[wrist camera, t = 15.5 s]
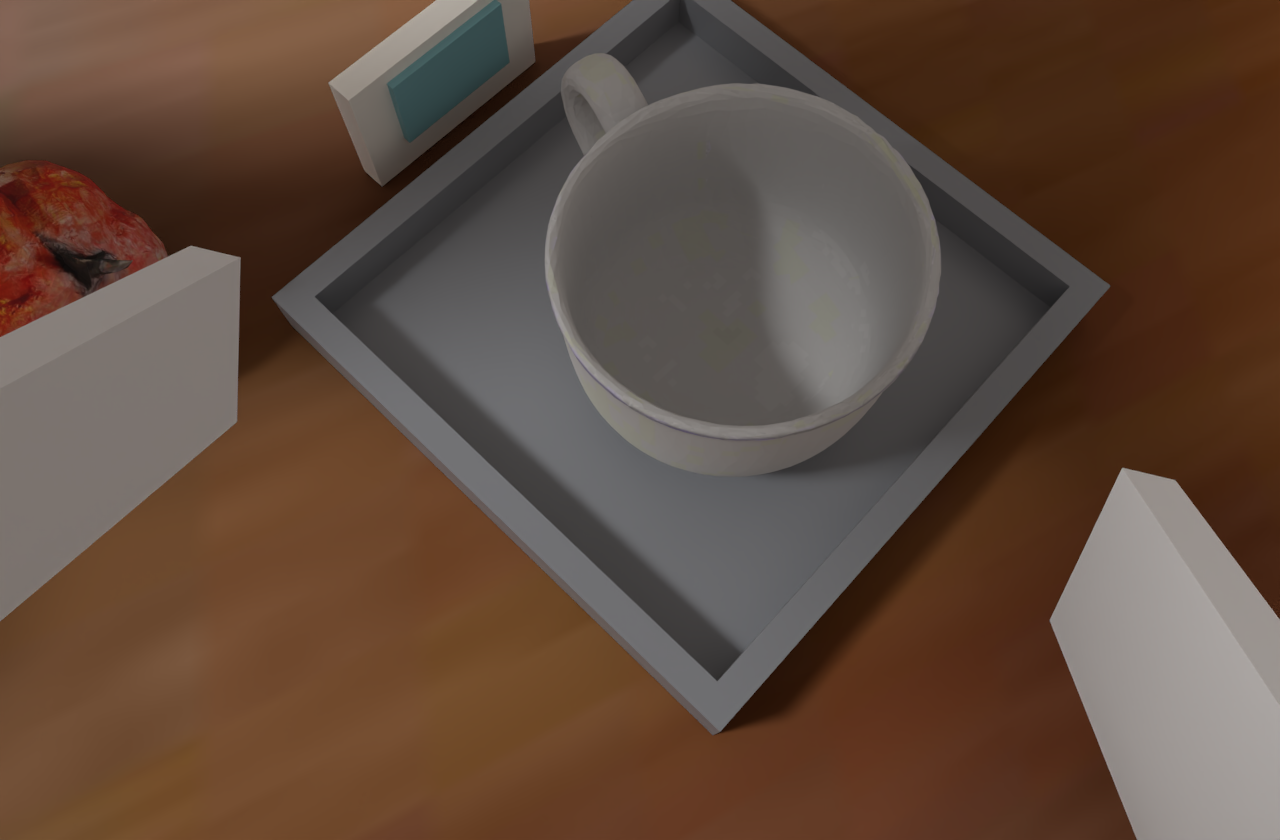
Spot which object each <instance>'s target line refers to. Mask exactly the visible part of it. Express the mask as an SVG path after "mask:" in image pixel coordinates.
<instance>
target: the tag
mask: <svg viewBox="0 0 1280 840" xmlns="http://www.w3.org/2000/svg"><path fill="white" fill-rule="evenodd" d="M535 62H536V61H535V51H534V42H533V33H532V24H531V15H530V5H529V0H436V1H435V2H433V3H432V4H431V5H429V6H428V7H427V8H426V9H424V10H423V11H422V12H420V13H419V14H418V15H416V16H415V17H414V18H412V19H411V20H410V21H409V22H407V23H406V24H405V25H403V26H402V27H401V28H399V29H398V30H397V31H395V32H394V33H393V34H392V35H390V36H389V37H388V38H386V39H385V40H384V41H382V42H381V43H380V44H378V45H377V46H376V47H374V48H373V49H372V50H371V51H369V52H368V53H367V54H365V55H364V56H363V57H361V58H360V59H359V60H357V61H356V62H355V63H354V64H352V65H351V66H350V67H348V68H347V69H346V70H344V71H343V72H342V73H340V74H339V75H338V76H337V77H335V78H334V79H333V80H331V81H330V82H329V86H330V88H331V91H332V93H333V96H334V98H335V100H336V103H337V105H338V108H339V110H340V113H341V115H342V118H343V120H344V122H345V125H346V127H347V130H348V132H349V135H350V137H351V140H352V142H353V144H354V147H355V149H356V152H357V154H358V157H359V159H360V161H361V164H362V166H363V169H364V171H365V172H366V173H367V174H368V175H370V176H371V177H372V178H373V179H374V180H375V181H376V182H377V183H378V184H380V185H381V186H382V187H383V186H384V185H385V184H386V183H388V182H389V181H390V180H391V179H392V178H394V177H395V176H396V175H397V174H399V173H400V172H401V171H402V170H403V169H405V168H406V167H407V166H408V165H410V164H411V163H412V162H413V161H415V160H416V159H417V158H418V157H419V156H421V155H422V154H423V153H424V152H426V151H427V150H428V149H429V148H430V147H432V146H433V145H434V144H435V143H437V142H438V141H439V140H440V139H442V138H443V137H444V136H445V135H446V134H448V133H449V132H450V131H451V130H453V129H454V128H455V127H456V126H457V125H459V124H460V123H461V122H462V121H464V120H465V119H466V118H467V117H469V116H470V115H471V114H472V113H473V112H475V111H476V110H477V109H478V108H480V107H481V106H482V105H483V104H484V103H486V102H487V101H488V100H489V99H491V98H492V97H493V96H494V95H496V94H497V93H498V92H499V91H500V90H502V89H503V88H504V87H505V86H507V85H508V84H509V83H510V82H512V81H513V80H514V79H515V78H516V77H518V76H519V75H520V74H521V73H523V72H524V71H525V70H526V69H527V68H529V67H530V66H531V65H532V64H534V63H535Z"/></svg>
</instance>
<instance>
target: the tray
mask: <svg viewBox="0 0 1280 840" xmlns="http://www.w3.org/2000/svg"><path fill="white" fill-rule="evenodd" d="M595 53H604V54H608V55H611V56H613V57H614V58H616V59H617V60H618V61H619V62H620V63H621V64H622V65H623V66H624V67H625V68H626V69H627V71H628V72H629V73H630V75H631V76H632V77H633V79H634V80H635V82H636V84H637V85H638V87H639V89H640V91H641V93H642V94H643V96H644V98H645V100H646V102H647V104H648V105H650V104H652V103H654V102H657V101H659V100H662V99H665V98H668V97H671V96H674V95H677V94H679V93H683V92H687V91H691V90H695V89H699V88H703V87H709V86H714V85H722V84H732V83H743V84H755V83H759V84H766V85H773V86H779V87H786V88H790V89H793V90H797V91H800V92H804V93H807V94H811V95H814V96H817V97H821V98H823V99H825V100H827V101H830V102H832V103H834V104H836V105H838V106H839V107H841V108H843V109H845V110H846V111H848V112H849V113H851V114H853V115H856V116H858V117H859V118H860V119H861V120H862V121H863V122H864V123H865V124H866V125H868V126H870V127H871V128H872V129H873V130H874V131H875V132H876V133H878V134H880V135H881V136H883V137H885V139H886V140H887V141H888V142H889V144H890V145H891V146H892V148H894V149H896V150H897V151H898V152H899V153H900V154H901V156H902V157H903V158H904V160H905V161H906V162H907V164H908V165H909V167H910V168H911V170H912V171H913V173H914V175H915V177H916V178H917V180H918V181H919V182H920V184H921V186H922V188H923V190H924V192H925V194H926V196H927V198H928V200H929V204H930V207H931V210H932V213H933V216H934V218H935V221H936V226H937V231H938V235H939V241H940V249H941V276H940V281H939V294H938V297H937V301H936V308H935V311H934V313H933V316H932V319H931V322H930V325H929V328H928V331H927V333H926V335H925V337H924V339H923V341H922V345H921V346H920V348H919V349H918V351H917V352H916V354H915V355H914V357H913V358H912V360H911V361H910V363H909V364H908V366H907V367H906V368H905V370H904V371H903V372H902V373H901V374H900V375H899V376H898V378H897V379H896V380H895V381H894V382H893V383H892V384H891V385H890V386H889V387H888V388H887V389H886V390H884V391H883V392H882V394H881V395H880V397H879V398H878V399H877V401H876V402H875V403H874V404H873V405H872V407H871V408H870V409H869V410H868V411H867V412H866V414H865V415H864V416H863V417H862V418H861V419H860V420H859V421H858V422H857V423H856V424H855V425H854V426H853V427H852V428H851V429H850V430H849V431H848V432H847V433H846V434H845V435H844V436H842V437H841V438H840V439H839V440H837V441H836V442H835V443H833V444H832V445H831V446H829V447H828V448H826V449H825V450H823V451H822V452H820V453H818V454H816V455H815V456H813V457H811V458H809V459H807V460H805V461H803V462H801V463H798V464H796V465H793V466H791V467H788V468H785V469H781V470H778V471H775V472H771V473H766V474H761V475H753V476H744V477H722V476H710V475H702V474H698V473H694V472H690V471H686V470H683V469H679V468H676V467H673V466H670V465H668V464H666V463H663V462H661V461H659V460H657V459H655V458H653V457H651V456H649V455H647V454H646V453H644V452H642V451H641V450H639V449H638V448H636V447H635V446H633V445H632V444H631V443H629V442H628V441H627V440H625V439H624V438H623V437H622V436H621V435H620V434H619V433H618V432H617V431H616V430H615V429H613V428H612V427H611V426H610V424H609V423H608V422H607V421H606V420H605V419H604V418H603V417H602V415H601V414H600V413H599V412H598V410H597V409H596V408H595V406H594V405H593V403H592V402H591V400H590V399H589V397H588V395H587V394H586V392H585V390H584V388H583V386H582V384H581V382H580V380H579V378H578V376H577V373H576V371H575V369H574V366H573V364H572V361H571V358H570V356H569V353H568V349H567V346H566V343H565V340H564V337H563V334H562V332H561V330H560V328H559V326H558V324H557V321H556V318H555V316H554V313H553V310H552V306H551V301H550V297H549V294H548V291H547V286H546V279H545V242H546V235H547V229H548V224H549V220H550V217H551V214H552V211H553V208H554V206H555V203H556V200H557V197H558V195H559V193H560V191H561V190H562V188H563V186H564V184H565V182H566V180H567V178H568V176H569V174H570V172H571V171H572V170H573V169H574V167H575V166H576V165H577V163H578V162H579V161H580V160H581V159H582V158H583V156H584V155H583V152H582V150H581V148H580V146H579V144H578V142H577V140H576V138H575V136H574V134H573V132H572V129H571V127H570V124H569V122H568V119H567V116H566V113H565V109H564V105H563V100H562V96H561V82H562V78H563V76H564V74H565V73H566V71H567V70H568V69H569V68H570V67H571V66H572V65H573V64H574V63H575V62H577V61H579V60H581V59H582V58H584V57H586V56H589V55H592V54H595ZM1109 287H1110V285H1109V284H1108V283H1106V282H1105V281H1104V280H1102V279H1101V278H1100V277H1098V276H1097V275H1096V274H1094V273H1093V272H1092V271H1090V270H1089V269H1088V268H1086V267H1085V266H1084V265H1082V264H1081V263H1080V262H1078V261H1077V260H1076V259H1074V258H1073V257H1072V256H1070V255H1069V254H1068V253H1066V252H1065V251H1064V250H1062V249H1061V248H1060V247H1058V246H1057V245H1056V244H1054V243H1053V242H1052V241H1050V240H1049V239H1048V238H1046V237H1045V236H1044V235H1042V234H1041V233H1040V232H1038V231H1037V230H1036V229H1034V228H1033V227H1032V226H1030V225H1029V224H1028V223H1026V222H1025V221H1024V220H1022V219H1021V218H1020V217H1018V216H1017V215H1016V214H1014V213H1013V212H1012V211H1010V210H1009V209H1008V208H1006V207H1005V206H1004V205H1002V204H1001V203H1000V202H998V201H997V200H996V199H994V198H993V197H992V196H990V195H989V194H988V193H986V192H985V191H984V190H982V189H981V188H980V187H978V186H977V185H976V184H974V183H973V182H972V181H970V180H969V179H968V178H966V177H965V176H964V175H962V174H961V173H960V172H958V171H957V170H956V169H954V168H953V167H952V166H950V165H949V164H948V163H946V162H945V161H944V160H942V159H941V158H940V157H938V156H937V155H936V154H934V153H933V152H932V151H930V150H929V149H928V148H926V147H925V146H924V145H923V144H921V143H920V142H919V141H917V140H916V139H915V138H913V137H912V136H911V135H909V134H908V133H907V132H905V131H904V130H903V129H901V128H900V127H899V126H897V125H896V124H895V123H893V122H892V121H891V120H889V119H888V118H887V117H885V116H884V115H883V114H881V113H880V112H879V111H877V110H876V109H875V108H873V107H872V106H871V105H869V104H868V103H867V102H865V101H864V100H863V99H861V98H860V97H859V96H857V95H856V94H855V93H853V92H852V91H851V90H849V89H848V88H847V87H845V86H844V85H843V84H841V83H840V82H839V81H837V80H836V79H835V78H833V77H832V76H831V75H829V74H828V73H827V72H825V71H824V70H823V69H821V68H820V67H819V66H817V65H816V64H815V63H813V62H812V61H811V60H809V59H808V58H807V57H805V56H804V55H803V54H801V53H800V52H799V51H797V50H796V49H795V48H793V47H792V46H791V45H789V44H788V43H787V42H785V41H784V40H783V39H781V38H780V37H779V36H777V35H776V34H775V33H773V32H772V31H771V30H769V29H768V28H767V27H765V26H764V25H763V24H761V23H760V22H759V21H757V20H756V19H755V18H753V17H752V16H751V15H749V14H748V13H747V12H745V11H744V10H743V9H741V8H740V7H739V6H737V5H736V4H735V3H733V2H732V1H731V0H633V1H631V2H630V3H629V4H628V5H627V6H625V7H624V8H623V9H622V10H620V11H619V12H618V13H617V14H616V15H614V16H613V17H612V18H611V19H609V20H608V21H607V22H606V23H605V24H603V25H602V26H601V27H600V28H599V29H597V30H596V31H595V32H594V33H592V34H591V35H590V36H589V37H588V38H586V39H585V40H584V41H583V42H581V43H580V44H579V45H578V46H577V47H575V48H574V49H573V50H572V51H571V52H569V53H568V54H567V55H566V56H564V57H563V58H562V59H561V60H560V61H558V62H557V63H556V64H555V65H553V66H552V67H551V68H550V69H549V70H547V71H546V72H545V73H544V74H543V75H541V76H540V77H539V78H538V79H536V80H535V81H534V82H533V83H532V84H530V85H529V86H528V87H527V88H525V89H524V90H523V91H522V92H521V93H519V94H518V95H517V96H516V97H515V98H513V99H512V100H511V101H510V102H508V103H507V104H506V105H505V106H504V107H502V108H501V109H500V110H499V111H497V112H496V113H495V114H494V115H493V116H491V117H490V118H489V119H488V120H487V121H485V122H484V123H483V124H482V125H480V126H479V127H478V128H477V129H476V130H474V131H473V132H472V133H471V134H469V135H468V136H467V137H466V138H465V139H463V140H462V141H461V142H460V143H459V144H457V145H456V146H455V147H454V148H452V149H451V150H450V151H449V152H448V153H446V154H445V155H444V156H443V157H441V158H440V159H439V160H438V161H437V162H435V163H434V164H433V165H432V166H431V167H429V168H428V169H427V170H426V171H424V172H423V173H422V174H421V175H420V176H418V177H417V178H416V179H415V180H413V181H412V182H411V183H410V184H409V185H407V186H406V187H405V188H404V189H403V190H401V191H400V192H399V193H398V194H396V195H395V196H394V197H393V198H392V199H390V200H389V201H388V202H387V203H385V204H384V205H383V206H382V207H381V208H379V209H378V210H377V211H376V212H375V213H373V214H372V215H371V216H370V217H368V218H367V219H366V220H365V221H364V222H362V223H361V224H360V225H359V226H357V227H356V228H355V229H354V230H353V231H351V232H350V233H349V234H348V235H347V236H345V237H344V238H343V239H342V240H340V241H339V242H338V243H337V244H336V245H334V246H333V247H332V248H331V249H329V250H328V251H327V252H326V253H325V254H323V255H322V256H321V257H320V258H319V259H317V260H316V261H315V262H314V263H312V264H311V265H310V266H309V267H308V268H306V269H305V270H304V271H303V272H301V273H300V274H299V275H298V276H297V277H295V278H294V279H293V280H292V281H291V282H289V283H288V284H287V285H286V286H284V287H283V288H282V289H281V290H280V291H278V292H277V293H276V294H275V295H273V296H272V299H273V300H274V302H275V303H276V305H277V306H278V307H279V309H280V310H281V312H282V313H283V314H284V316H285V317H286V319H287V320H288V321H289V323H290V324H291V326H292V327H293V328H294V329H295V330H296V331H297V332H298V333H300V334H301V335H302V336H303V337H304V338H305V339H306V340H307V341H308V342H309V343H310V344H311V345H312V346H313V347H314V348H315V349H316V350H317V351H318V352H319V353H320V354H321V355H322V356H323V357H324V358H325V359H326V360H327V361H328V362H329V363H330V364H331V365H332V366H333V367H335V368H336V369H337V370H338V371H339V372H340V373H341V374H342V375H343V376H344V377H345V378H346V379H347V380H348V381H349V382H350V383H351V384H352V385H353V386H354V387H355V388H356V389H357V390H358V391H359V392H360V393H361V394H362V395H363V396H364V397H365V398H366V399H367V400H368V401H370V402H371V403H372V404H373V405H374V406H375V407H376V408H377V409H378V410H379V411H380V412H381V413H382V414H383V415H384V416H385V417H386V418H387V419H388V420H389V421H390V422H391V423H392V424H393V425H394V426H395V427H396V428H397V429H398V430H399V431H400V432H401V433H402V434H403V435H404V436H406V437H407V438H408V439H409V440H410V441H411V442H412V443H413V444H414V445H415V446H416V447H417V448H418V449H419V450H420V451H421V452H422V453H423V454H424V455H425V456H426V457H427V458H428V459H429V460H430V461H431V462H432V463H433V464H434V465H435V466H436V467H437V468H438V469H439V470H441V471H442V472H443V473H444V474H445V475H446V476H447V477H448V478H449V479H450V480H451V481H452V482H453V483H454V484H455V485H456V486H457V487H458V488H459V489H460V490H461V491H462V492H463V493H464V494H465V495H466V496H467V497H468V498H469V499H470V500H471V501H472V502H473V503H474V504H476V505H477V506H478V507H479V508H480V509H481V510H482V511H483V512H484V513H485V514H486V515H487V516H488V517H489V518H490V519H491V520H492V521H493V522H494V523H495V524H496V525H497V526H498V527H499V528H500V529H501V530H502V531H503V532H504V533H505V534H506V535H507V536H508V537H509V538H511V539H512V540H513V541H514V542H515V543H516V544H517V545H518V546H519V547H520V548H521V549H522V550H523V551H524V552H525V553H526V554H527V555H528V556H529V557H530V558H531V559H532V560H533V561H534V562H535V563H536V564H537V565H538V566H539V567H540V568H541V569H542V570H543V571H544V572H546V573H547V574H548V575H549V576H550V577H551V578H552V579H553V580H554V581H555V582H556V583H557V584H558V585H559V586H560V587H561V588H562V589H563V590H564V591H565V592H566V593H567V594H568V595H569V596H570V597H571V598H572V599H573V600H574V601H575V602H576V603H577V604H578V605H579V606H580V607H582V608H583V609H584V610H585V611H586V612H587V613H588V614H589V615H590V616H591V617H592V618H593V619H594V620H595V621H596V622H597V623H598V624H599V625H600V626H601V627H602V628H603V629H604V630H605V631H606V632H607V633H608V634H609V635H610V636H611V637H612V638H613V639H614V640H615V641H617V642H618V643H619V644H620V645H621V646H622V647H623V648H624V649H625V650H626V651H627V652H628V653H629V654H630V655H631V656H632V657H633V658H634V659H635V660H636V661H637V662H638V663H639V664H640V665H641V666H642V667H643V668H644V669H645V670H646V671H647V672H648V673H649V674H650V675H652V676H653V677H654V678H655V679H656V680H657V681H658V682H659V683H660V684H661V685H662V686H663V687H664V688H665V689H666V690H667V691H668V692H669V693H670V694H671V695H672V696H673V697H674V698H675V699H676V700H677V701H678V702H679V703H680V704H681V705H682V706H683V707H684V708H685V709H687V710H688V711H689V712H690V713H691V714H692V715H693V716H694V717H695V718H696V719H697V720H698V721H699V722H700V723H701V724H702V725H703V726H704V727H705V728H706V729H707V730H708V731H709V732H710V733H711V734H712V735H714V734H717V733H719V732H720V731H721V730H722V729H723V728H724V727H725V726H726V725H727V723H728V722H729V721H730V720H731V719H732V718H733V717H734V715H735V714H736V713H737V712H738V711H739V710H740V709H741V707H742V706H743V705H744V704H745V703H746V702H747V701H748V699H749V698H750V697H751V696H752V695H753V694H754V693H755V691H756V690H757V689H758V688H759V687H760V686H761V685H762V684H763V682H764V681H765V680H766V679H767V678H768V677H769V676H770V674H771V673H772V672H773V671H774V670H775V669H776V668H777V666H778V665H779V664H780V663H781V662H782V661H783V660H784V658H785V657H786V656H787V655H788V654H789V653H790V652H791V650H792V649H793V648H794V647H795V646H796V645H797V644H798V642H799V641H800V640H801V639H802V638H803V637H804V636H805V634H806V633H807V632H808V631H809V630H810V629H811V628H812V626H813V625H814V624H815V623H816V622H817V621H818V620H819V618H820V617H821V616H822V615H823V614H824V613H825V612H826V610H827V609H828V608H829V607H830V606H831V605H832V604H833V602H834V601H835V600H836V599H837V598H838V597H839V596H840V594H841V593H842V592H843V591H844V590H845V589H846V588H847V586H848V585H849V584H850V583H851V582H852V581H853V580H854V578H855V577H856V576H857V575H858V574H859V573H860V572H861V570H862V569H863V568H864V567H865V566H866V565H867V564H868V563H869V561H870V560H871V559H872V558H873V557H874V556H875V555H876V553H877V552H878V551H879V550H880V549H881V548H882V547H883V545H884V544H885V543H886V542H887V541H888V540H889V539H890V537H891V536H892V535H893V534H894V533H895V532H896V531H897V529H898V528H899V527H900V526H901V525H902V524H903V523H904V521H905V520H906V519H907V518H908V517H909V516H910V515H911V513H912V512H913V511H914V510H915V509H916V508H917V507H918V505H919V504H920V503H921V502H922V501H923V500H924V499H925V497H926V496H927V495H928V494H929V493H930V492H931V491H932V489H933V488H934V487H935V486H936V485H937V484H938V483H939V481H940V480H941V479H942V478H943V477H944V476H945V475H946V473H947V472H948V471H949V470H950V469H951V468H952V467H953V465H954V464H955V463H956V462H957V461H958V460H959V459H960V457H961V456H962V455H963V454H964V453H965V452H966V451H967V449H968V448H969V447H970V446H971V445H972V444H973V443H974V442H975V440H976V439H977V438H978V437H979V436H980V435H981V434H982V432H983V431H984V430H985V429H986V428H987V427H988V426H989V424H990V423H991V422H992V421H993V420H994V419H995V418H996V416H997V415H998V414H999V413H1000V412H1001V411H1002V410H1003V408H1004V407H1005V406H1006V405H1007V404H1008V403H1009V402H1010V400H1011V399H1012V398H1013V397H1014V396H1015V395H1016V394H1017V392H1018V391H1019V390H1020V389H1021V388H1022V387H1023V386H1024V384H1025V383H1026V382H1027V381H1028V380H1029V379H1030V378H1031V376H1032V375H1033V374H1034V373H1035V372H1036V371H1037V370H1038V368H1039V367H1040V366H1041V365H1042V364H1043V363H1044V362H1045V360H1046V359H1047V358H1048V357H1049V356H1050V355H1051V354H1052V352H1053V351H1054V350H1055V349H1056V348H1057V347H1058V346H1059V344H1060V343H1061V342H1062V341H1063V340H1064V339H1065V338H1066V336H1067V335H1068V334H1069V333H1070V332H1071V331H1072V330H1073V328H1074V327H1075V326H1076V325H1077V324H1078V323H1079V322H1080V321H1081V319H1082V318H1083V317H1084V316H1085V315H1086V314H1087V313H1088V311H1089V310H1090V309H1091V308H1092V307H1093V306H1094V305H1095V303H1096V302H1097V301H1098V300H1099V299H1100V298H1101V297H1102V295H1103V294H1104V293H1105V292H1106V291H1107V290H1108V289H1109Z"/></svg>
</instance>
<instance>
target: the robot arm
mask: <svg viewBox="0 0 1280 840" xmlns="http://www.w3.org/2000/svg"><path fill="white" fill-rule="evenodd" d="M240 262H241V257H236V256H232V255H228V254H224V253H220V252H215V251H211V250H207V249H203V248H199V247H194V246H189V247H187V248H185V249H183V250H181V251H179V252H177V253H174V254H172V255H170V256H168V257H166V258H164V259H162V260H160V261H158V262H156V263H154V264H152V265H150V266H147V267H145V268H143V269H141V270H139V271H137V272H135V273H133V274H131V275H129V276H127V277H125V278H122V279H120V280H118V281H116V282H114V283H112V284H110V285H108V286H106V287H104V288H102V289H100V290H97V291H95V292H93V293H91V294H89V295H87V296H85V297H83V298H81V299H79V300H77V301H75V302H72V303H70V304H68V305H66V306H64V307H62V308H60V309H58V310H56V311H54V312H52V313H50V314H47V315H45V316H43V317H41V318H39V319H37V320H35V321H33V322H31V323H29V324H27V325H25V326H22V327H20V328H18V329H16V330H14V331H12V332H10V333H8V334H6V335H4V336H2V337H0V621H1V620H2V619H3V618H5V617H6V616H7V615H8V614H9V613H11V612H12V611H13V610H14V609H15V608H17V607H18V606H19V605H20V604H21V603H22V602H24V601H25V600H26V599H27V598H28V597H30V596H31V595H32V594H33V593H34V592H36V591H37V590H38V589H39V588H40V587H41V586H43V585H44V584H45V583H46V582H47V581H49V580H50V579H51V578H52V577H53V576H55V575H56V574H57V573H58V572H59V571H60V570H62V569H63V568H64V567H65V566H66V565H68V564H69V563H70V562H71V561H72V560H74V559H75V558H76V557H77V556H78V555H80V554H81V553H82V552H83V551H84V550H85V549H87V548H88V547H89V546H90V545H91V544H93V543H94V542H95V541H96V540H97V539H99V538H100V537H101V536H102V535H103V534H104V533H106V532H107V531H108V530H109V529H110V528H112V527H113V526H114V525H115V524H116V523H118V522H119V521H120V520H121V519H122V518H123V517H125V516H126V515H127V514H128V513H129V512H131V511H132V510H133V509H134V508H135V507H137V506H138V505H139V504H140V503H141V502H142V501H144V500H145V499H146V498H147V497H148V496H150V495H151V494H152V493H153V492H154V491H156V490H157V489H158V488H159V487H160V486H161V485H163V484H164V483H165V482H166V481H167V480H169V479H170V478H171V477H172V476H173V475H175V474H176V473H177V472H178V471H179V470H181V469H182V468H183V467H184V466H185V465H186V464H188V463H189V462H190V461H191V460H192V459H194V458H195V457H196V456H197V455H198V454H200V453H201V452H202V451H203V450H204V449H205V448H207V447H208V446H209V445H210V444H211V443H213V442H214V441H215V440H216V439H217V438H219V437H220V436H221V435H222V434H223V433H224V432H226V431H227V430H228V429H229V428H230V427H232V426H233V425H234V424H235V423H236V422H237V400H238V354H239V308H240ZM1050 623H1051V625H1052V628H1053V630H1054V633H1055V635H1056V638H1057V640H1058V643H1059V645H1060V648H1061V650H1062V653H1063V655H1064V658H1065V660H1066V663H1067V665H1068V668H1069V670H1070V673H1071V675H1072V678H1073V680H1074V683H1075V685H1076V688H1077V690H1078V693H1079V695H1080V698H1081V700H1082V703H1083V705H1084V708H1085V710H1086V713H1087V715H1088V718H1089V720H1090V723H1091V726H1092V728H1093V731H1094V733H1095V736H1096V738H1097V741H1098V743H1099V746H1100V748H1101V751H1102V753H1103V756H1104V758H1105V761H1106V763H1107V766H1108V768H1109V771H1110V773H1111V776H1112V778H1113V781H1114V783H1115V786H1116V788H1117V791H1118V793H1119V796H1120V798H1121V801H1122V803H1123V806H1124V808H1125V811H1126V813H1127V816H1128V818H1129V821H1130V823H1131V826H1132V828H1133V831H1134V833H1135V836H1136V838H1137V840H1280V619H1279V618H1278V617H1277V615H1276V614H1275V613H1274V611H1273V610H1272V609H1271V607H1270V606H1269V605H1268V603H1267V602H1266V601H1265V599H1264V598H1263V597H1262V595H1261V594H1260V593H1259V591H1258V590H1257V589H1256V587H1255V586H1254V585H1253V583H1252V582H1251V581H1250V579H1249V578H1248V577H1247V575H1246V574H1245V573H1244V571H1243V570H1242V569H1241V567H1240V566H1239V565H1238V563H1237V562H1236V561H1235V559H1234V558H1233V557H1232V555H1231V554H1230V553H1229V551H1228V550H1227V549H1226V547H1225V546H1224V545H1223V543H1222V542H1221V540H1220V539H1219V538H1218V536H1217V535H1216V534H1215V532H1214V531H1213V530H1212V528H1211V527H1210V526H1209V524H1208V523H1207V522H1206V520H1205V519H1204V518H1203V516H1202V515H1201V514H1200V512H1199V511H1198V510H1197V508H1196V507H1195V506H1194V504H1193V503H1192V502H1191V500H1190V499H1189V498H1188V496H1187V495H1186V494H1185V492H1184V491H1183V490H1182V488H1181V487H1180V486H1179V484H1178V483H1177V482H1176V480H1172V479H1168V478H1164V477H1160V476H1155V475H1151V474H1147V473H1143V472H1139V471H1134V470H1130V469H1126V468H1122V469H1121V471H1120V473H1119V476H1118V478H1117V480H1116V482H1115V484H1114V486H1113V488H1112V490H1111V492H1110V494H1109V497H1108V499H1107V501H1106V503H1105V505H1104V507H1103V509H1102V511H1101V513H1100V516H1099V518H1098V520H1097V522H1096V524H1095V526H1094V528H1093V530H1092V532H1091V534H1090V537H1089V539H1088V541H1087V543H1086V545H1085V547H1084V549H1083V551H1082V553H1081V555H1080V558H1079V560H1078V562H1077V564H1076V566H1075V568H1074V570H1073V572H1072V574H1071V577H1070V579H1069V581H1068V583H1067V585H1066V587H1065V589H1064V591H1063V593H1062V595H1061V598H1060V600H1059V602H1058V604H1057V606H1056V608H1055V610H1054V612H1053V614H1052V617H1051V619H1050Z"/></svg>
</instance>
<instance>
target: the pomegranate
mask: <svg viewBox="0 0 1280 840" xmlns="http://www.w3.org/2000/svg"><path fill="white" fill-rule="evenodd" d="M166 257H168V255H167V252H166V250H165V247H164V244H163V242H162V241H161V240H160V239H159V238H158V237H157V236H156V235H155V234H154V233H153V232H152V231H151V229H150V228H149V227H148V225H147V224H146V223H145V221H144V220H143V219H142V218H141V217H139V216H138V215H136V214H135V213H133V212H130V211H127V210H125V209H124V208H122V207H121V206H119V205H118V204H117V203H115V202H114V201H112V200H111V199H110V198H109V197H107V196H106V194H105V193H104V192H103V191H102V190H101V189H100V188H99V187H98V186H97V185H96V184H95V183H94V182H93V181H92V180H91V179H89V178H88V177H86V176H84V175H82V174H81V173H79V172H76V171H74V170H71V169H68V168H66V167H63V166H60V165H57V164H54V163H51V162H48V161H46V160H25V161H21V162H17V163H12V164H7V165H5V166H3V167H1V168H0V337H2V336H4V335H6V334H8V333H10V332H12V331H14V330H16V329H18V328H20V327H22V326H25V325H27V324H29V323H31V322H33V321H35V320H37V319H39V318H41V317H43V316H45V315H47V314H50V313H52V312H54V311H56V310H58V309H60V308H62V307H64V306H66V305H68V304H70V303H72V302H75V301H77V300H79V299H81V298H83V297H85V296H87V295H89V294H91V293H93V292H95V291H97V290H100V289H102V288H104V287H106V286H108V285H110V284H112V283H114V282H116V281H118V280H120V279H122V278H125V277H127V276H129V275H131V274H133V273H135V272H137V271H139V270H141V269H143V268H145V267H147V266H150V265H152V264H154V263H156V262H158V261H160V260H162V259H164V258H166Z"/></svg>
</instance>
